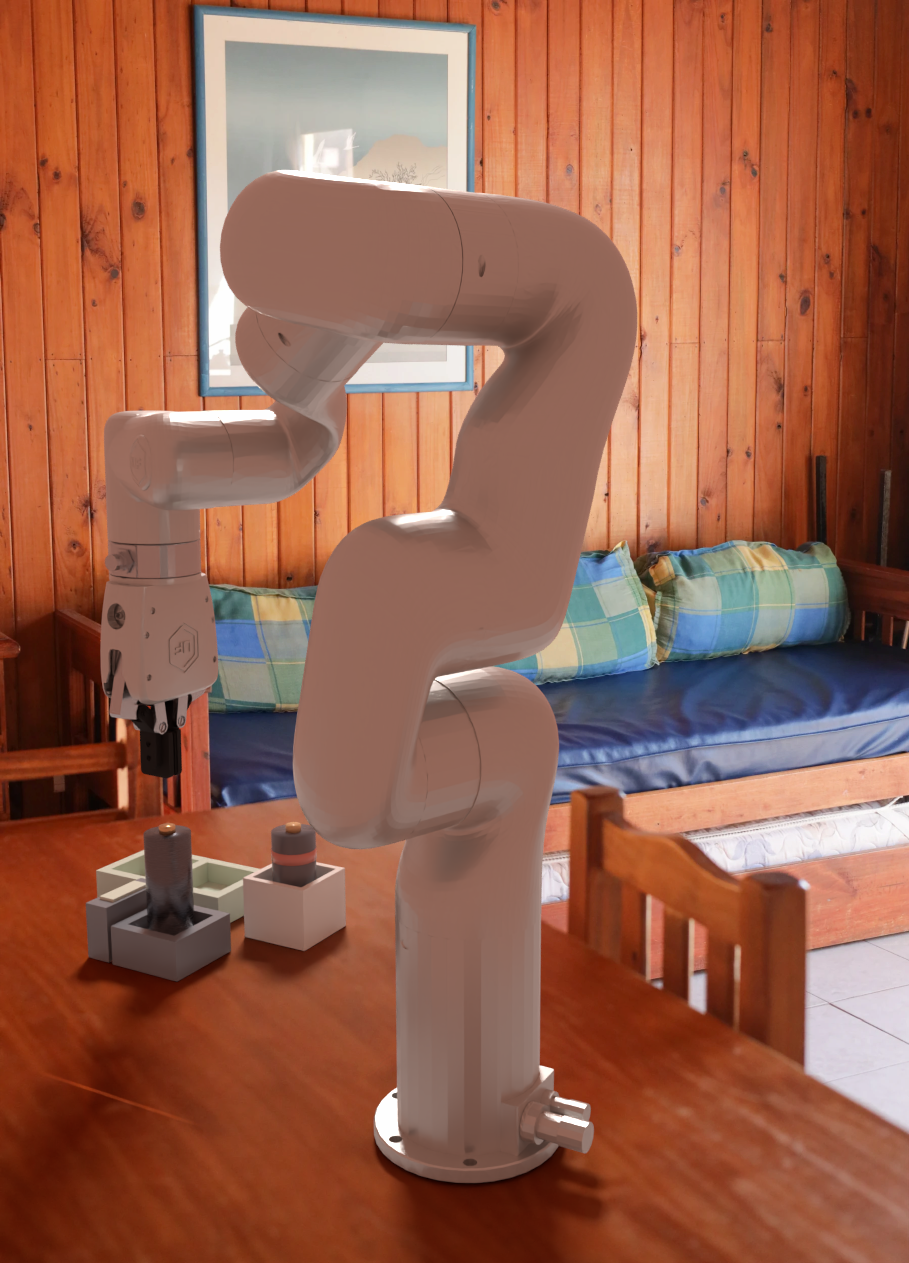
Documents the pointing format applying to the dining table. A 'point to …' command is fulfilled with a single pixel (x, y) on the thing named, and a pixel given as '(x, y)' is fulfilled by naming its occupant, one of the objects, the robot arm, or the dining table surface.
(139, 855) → the tray
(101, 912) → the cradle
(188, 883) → the cell
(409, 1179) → the dining table surface
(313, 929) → the cup
